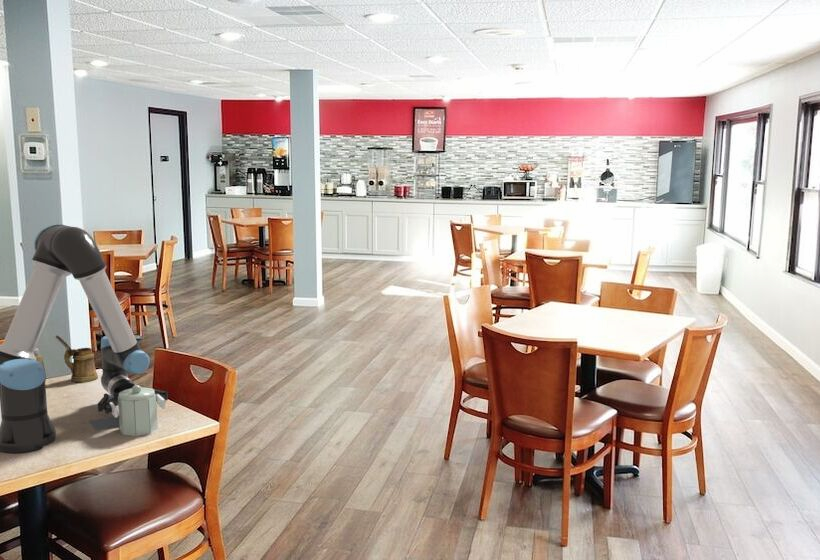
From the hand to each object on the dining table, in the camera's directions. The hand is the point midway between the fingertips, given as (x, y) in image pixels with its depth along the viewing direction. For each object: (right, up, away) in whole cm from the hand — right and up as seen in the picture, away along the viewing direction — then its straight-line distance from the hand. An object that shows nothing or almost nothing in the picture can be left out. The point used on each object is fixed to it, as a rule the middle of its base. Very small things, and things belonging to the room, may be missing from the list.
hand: (140, 408), depth 215 cm
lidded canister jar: (-2, -7, +4) cm, 9 cm away
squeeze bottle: (-54, -1, +44) cm, 70 cm away
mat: (-13, -7, +10) cm, 17 cm away
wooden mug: (-43, +1, +55) cm, 70 cm away
